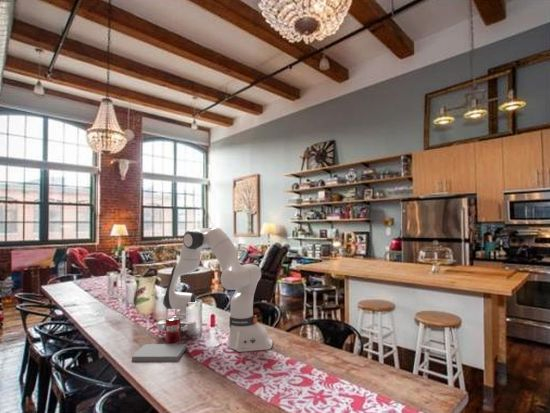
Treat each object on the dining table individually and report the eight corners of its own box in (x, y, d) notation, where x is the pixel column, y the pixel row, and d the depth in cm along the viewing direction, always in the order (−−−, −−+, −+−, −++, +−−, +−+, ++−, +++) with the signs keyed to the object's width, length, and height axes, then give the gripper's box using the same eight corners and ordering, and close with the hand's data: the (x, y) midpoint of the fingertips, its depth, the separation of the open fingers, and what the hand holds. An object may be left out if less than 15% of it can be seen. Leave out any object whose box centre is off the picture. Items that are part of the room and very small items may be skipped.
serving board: (186, 348, 155) (186, 344, 155) (177, 361, 141) (177, 356, 141) (144, 348, 155) (144, 344, 155) (131, 361, 141) (132, 356, 141)
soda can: (164, 340, 165) (165, 316, 166) (179, 338, 168) (180, 315, 168) (165, 345, 159) (165, 321, 159) (180, 343, 161) (181, 319, 162)
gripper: (161, 315, 177) (152, 323, 163) (199, 315, 177) (192, 323, 163) (161, 327, 177) (151, 336, 163) (198, 326, 177) (192, 335, 163)
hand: (172, 329), depth 163 cm, fingers open, 8 cm apart
